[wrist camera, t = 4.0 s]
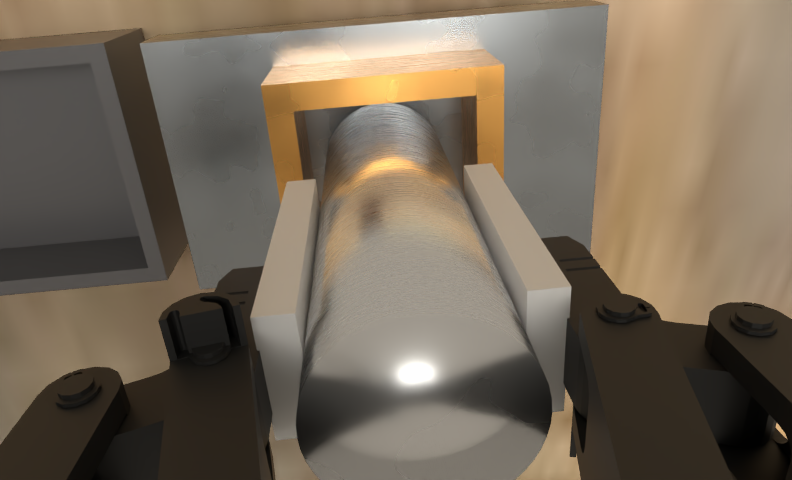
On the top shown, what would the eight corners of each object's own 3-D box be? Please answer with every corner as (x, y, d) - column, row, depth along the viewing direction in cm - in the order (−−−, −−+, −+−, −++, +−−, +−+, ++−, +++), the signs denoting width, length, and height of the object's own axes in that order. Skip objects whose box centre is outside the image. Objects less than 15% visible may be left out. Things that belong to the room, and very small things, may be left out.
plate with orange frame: (224, 233, 28) (179, 334, 21) (180, 25, 24) (104, 59, 17) (552, 203, 28) (620, 292, 21) (561, -7, 24) (648, 13, 17)
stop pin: (333, 218, 22) (313, 526, 10) (319, 108, 20) (277, 330, 9) (444, 208, 22) (547, 501, 10) (439, 97, 20) (557, 302, 9)
